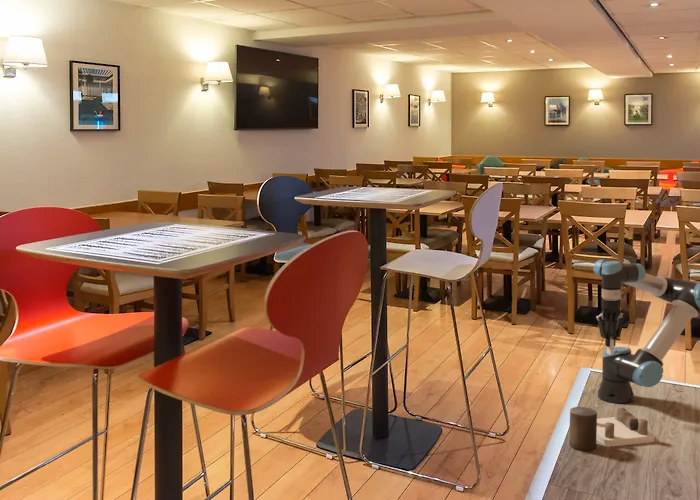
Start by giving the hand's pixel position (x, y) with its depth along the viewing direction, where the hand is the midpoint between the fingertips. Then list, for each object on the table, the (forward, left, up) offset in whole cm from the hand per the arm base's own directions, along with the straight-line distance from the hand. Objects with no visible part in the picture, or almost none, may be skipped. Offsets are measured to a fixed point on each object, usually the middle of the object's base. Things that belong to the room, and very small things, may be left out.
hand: (610, 353), depth 275 cm
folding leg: (+3, +17, -23) cm, 29 cm away
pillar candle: (+27, +26, -26) cm, 46 cm away
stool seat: (+9, +20, -26) cm, 34 cm away
